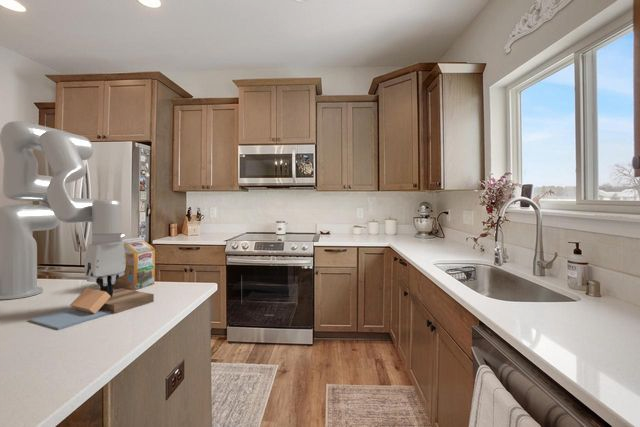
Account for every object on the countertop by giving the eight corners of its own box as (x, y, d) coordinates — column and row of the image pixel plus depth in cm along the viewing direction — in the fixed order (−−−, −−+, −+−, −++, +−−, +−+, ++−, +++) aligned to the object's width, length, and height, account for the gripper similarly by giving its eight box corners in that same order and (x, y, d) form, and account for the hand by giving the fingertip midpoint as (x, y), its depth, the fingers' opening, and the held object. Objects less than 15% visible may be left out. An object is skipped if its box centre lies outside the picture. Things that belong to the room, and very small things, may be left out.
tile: (75, 309, 91) (69, 304, 90) (91, 292, 95) (86, 288, 94) (95, 313, 88) (89, 309, 86) (111, 296, 92) (105, 291, 90)
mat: (28, 321, 83) (28, 319, 83) (82, 306, 95) (82, 305, 95) (58, 329, 78) (58, 327, 78) (111, 313, 90) (111, 311, 90)
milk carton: (134, 290, 114) (134, 240, 114) (110, 288, 116) (110, 239, 116) (154, 284, 124) (155, 237, 124) (132, 282, 126) (132, 236, 126)
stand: (81, 306, 96) (81, 298, 96) (121, 295, 108) (121, 288, 108) (114, 313, 90) (114, 305, 90) (153, 301, 102) (153, 294, 102)
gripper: (122, 236, 103) (121, 290, 104) (72, 240, 89) (72, 302, 90) (137, 237, 100) (137, 292, 101) (88, 242, 87) (88, 306, 87)
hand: (106, 297), depth 95 cm, fingers closed
